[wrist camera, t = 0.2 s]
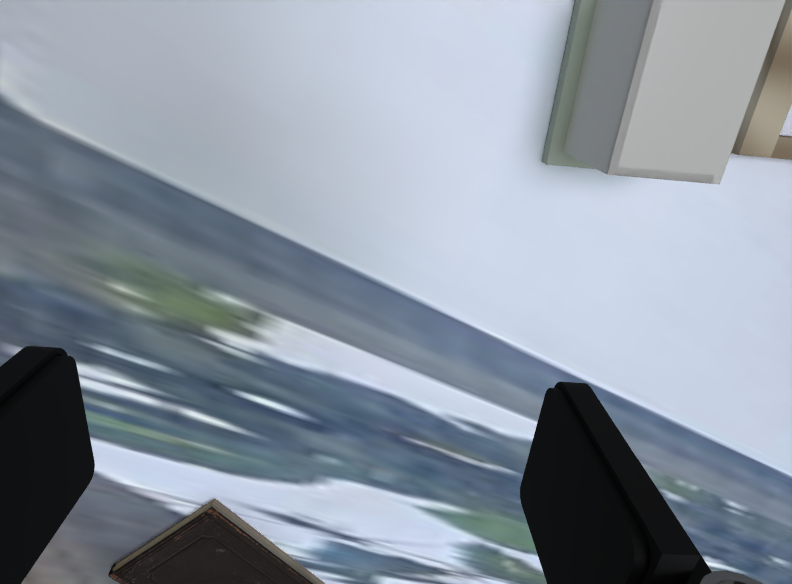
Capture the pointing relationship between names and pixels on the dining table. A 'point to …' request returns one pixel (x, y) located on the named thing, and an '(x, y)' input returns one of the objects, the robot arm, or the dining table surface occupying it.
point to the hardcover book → (211, 555)
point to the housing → (668, 85)
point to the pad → (569, 86)
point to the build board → (770, 98)
